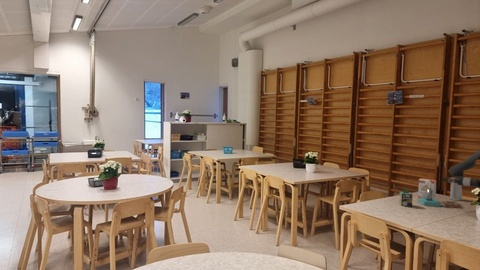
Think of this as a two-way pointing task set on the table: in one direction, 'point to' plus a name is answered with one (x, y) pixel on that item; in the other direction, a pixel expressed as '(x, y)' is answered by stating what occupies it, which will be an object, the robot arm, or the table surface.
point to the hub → (429, 202)
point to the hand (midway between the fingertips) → (443, 178)
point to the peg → (429, 194)
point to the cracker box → (426, 187)
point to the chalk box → (405, 198)
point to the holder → (451, 204)
